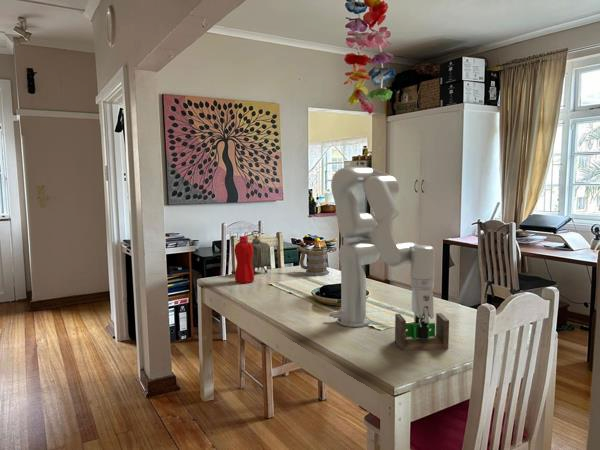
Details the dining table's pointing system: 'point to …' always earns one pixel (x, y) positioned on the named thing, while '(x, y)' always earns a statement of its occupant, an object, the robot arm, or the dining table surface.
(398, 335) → the bracket
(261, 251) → the grey bag
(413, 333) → the pipe clamp
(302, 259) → the tankard
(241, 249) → the water bottle
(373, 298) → the dining table surface
